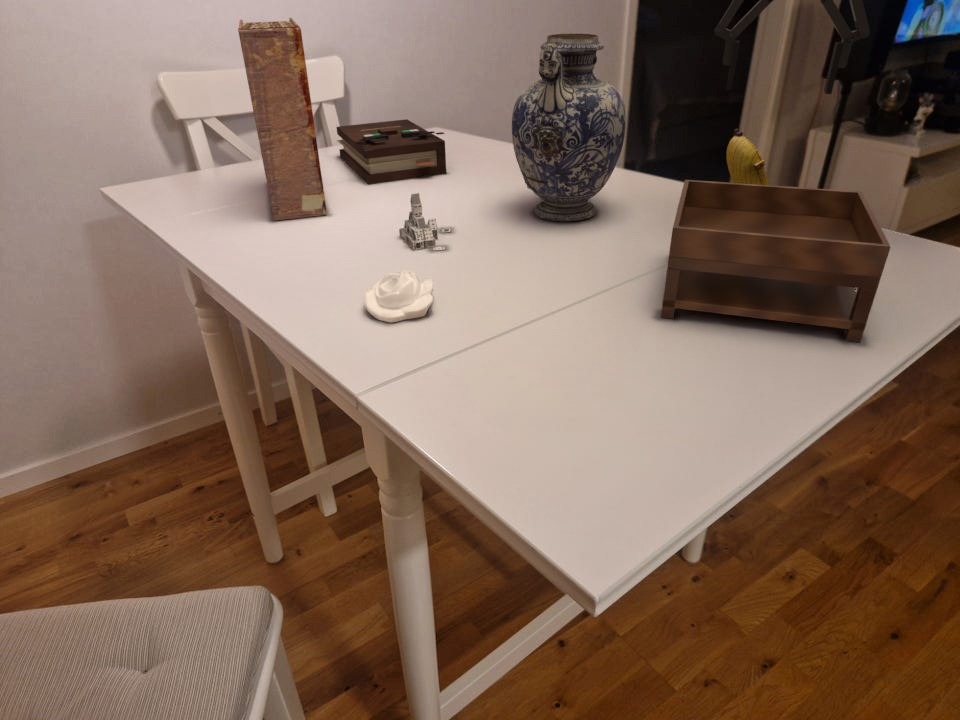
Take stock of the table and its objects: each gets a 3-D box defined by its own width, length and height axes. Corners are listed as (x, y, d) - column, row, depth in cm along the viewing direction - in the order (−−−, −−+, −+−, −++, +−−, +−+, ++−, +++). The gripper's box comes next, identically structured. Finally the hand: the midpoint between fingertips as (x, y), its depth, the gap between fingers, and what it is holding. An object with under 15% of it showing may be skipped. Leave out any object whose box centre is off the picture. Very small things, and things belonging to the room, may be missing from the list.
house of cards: (469, 245, 103) (467, 197, 99) (416, 254, 100) (412, 205, 96) (449, 227, 110) (446, 181, 106) (399, 235, 107) (394, 189, 103)
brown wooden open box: (838, 274, 90) (862, 191, 84) (860, 342, 74) (890, 246, 68) (673, 257, 97) (684, 179, 91) (660, 317, 80) (672, 227, 74)
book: (270, 183, 135) (239, 19, 120) (315, 178, 137) (291, 17, 122) (274, 221, 114) (237, 29, 99) (327, 215, 116) (300, 26, 101)
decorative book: (408, 113, 157) (454, 138, 133) (410, 145, 161) (455, 175, 137) (328, 121, 150) (361, 149, 127) (332, 155, 154) (365, 188, 131)
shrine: (718, 231, 105) (735, 135, 98) (712, 214, 112) (727, 123, 105) (794, 234, 104) (817, 136, 96) (783, 217, 110) (804, 124, 103)
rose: (454, 271, 83) (398, 298, 76) (455, 303, 85) (401, 331, 79) (399, 253, 88) (343, 276, 82) (401, 283, 91) (347, 308, 84)
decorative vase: (536, 190, 127) (539, 28, 113) (631, 200, 120) (648, 29, 106) (490, 224, 110) (488, 40, 96) (598, 239, 103) (612, 43, 89)
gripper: (913, -84, 86) (866, 89, 97) (714, -77, 93) (691, 83, 104) (926, -87, 80) (875, 98, 91) (712, -80, 87) (688, 91, 98)
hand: (777, 91), depth 97 cm, fingers open, 13 cm apart
